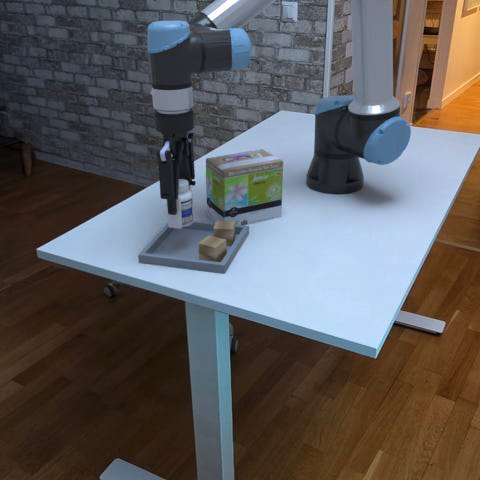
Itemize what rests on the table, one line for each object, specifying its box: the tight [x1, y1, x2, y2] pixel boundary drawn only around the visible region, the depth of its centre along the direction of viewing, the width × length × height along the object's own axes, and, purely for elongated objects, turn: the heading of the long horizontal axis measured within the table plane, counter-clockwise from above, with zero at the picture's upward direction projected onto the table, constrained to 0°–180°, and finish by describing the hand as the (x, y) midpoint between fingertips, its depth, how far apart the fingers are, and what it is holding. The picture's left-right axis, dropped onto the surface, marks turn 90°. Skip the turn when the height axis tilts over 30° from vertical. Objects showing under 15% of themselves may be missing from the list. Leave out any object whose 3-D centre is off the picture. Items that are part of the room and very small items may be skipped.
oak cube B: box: [198, 235, 227, 262], centre depth 113 cm, size 4×4×4 cm
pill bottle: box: [178, 179, 194, 227], centre depth 115 cm, size 5×5×9 cm
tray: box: [137, 220, 250, 275], centre depth 118 cm, size 18×18×2 cm
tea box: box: [205, 148, 284, 226], centre depth 130 cm, size 15×10×15 cm
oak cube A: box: [214, 220, 235, 246], centre depth 120 cm, size 4×4×4 cm
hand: (180, 221), depth 117 cm, fingers closed on pill bottle, 5 cm apart
